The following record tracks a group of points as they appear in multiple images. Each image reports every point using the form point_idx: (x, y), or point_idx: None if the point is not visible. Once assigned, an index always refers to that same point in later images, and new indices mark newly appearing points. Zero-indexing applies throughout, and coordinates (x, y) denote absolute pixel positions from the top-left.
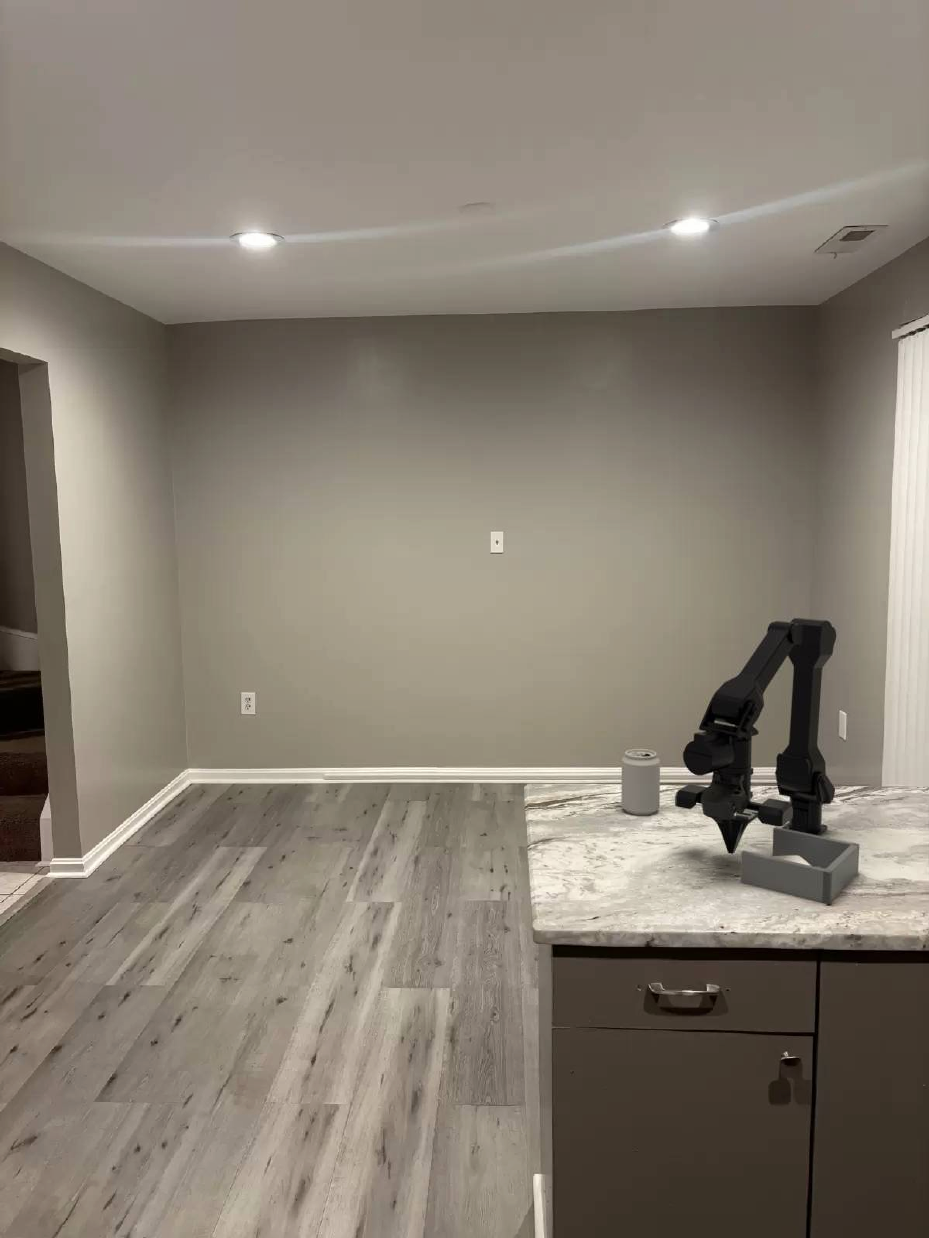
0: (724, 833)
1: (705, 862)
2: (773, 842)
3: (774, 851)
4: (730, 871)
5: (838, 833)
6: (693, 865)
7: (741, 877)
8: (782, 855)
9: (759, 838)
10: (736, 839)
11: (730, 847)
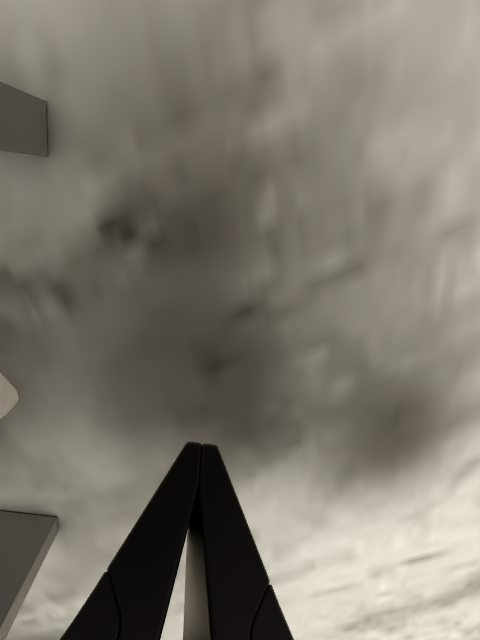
0: (244, 606)
1: (332, 361)
2: (11, 597)
3: (34, 542)
4: (175, 287)
5: None
6: (401, 295)
7: (13, 90)
8: (1, 526)
9: None
10: (119, 549)
11: (195, 475)
